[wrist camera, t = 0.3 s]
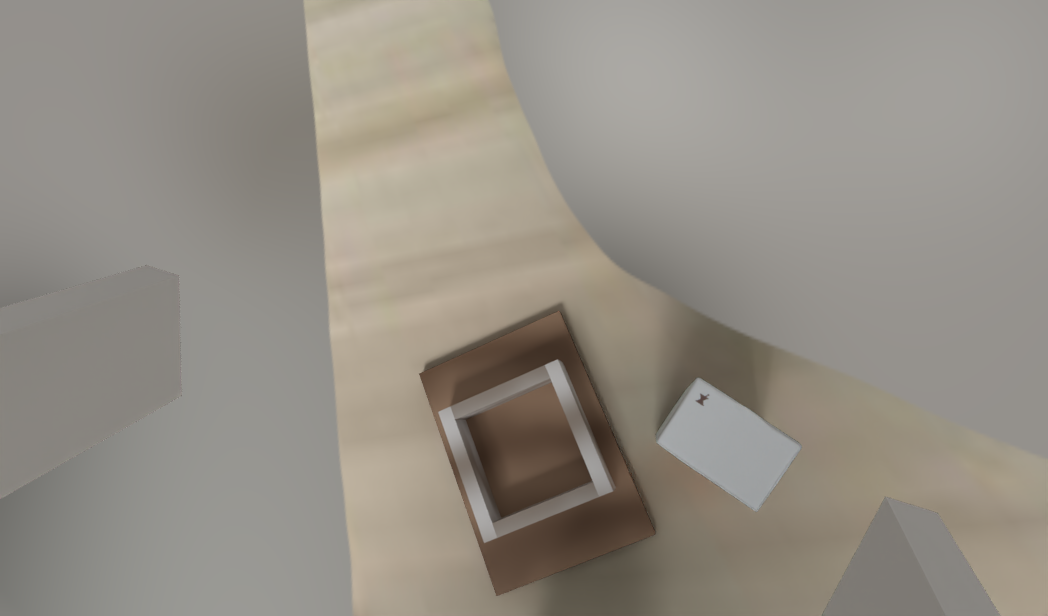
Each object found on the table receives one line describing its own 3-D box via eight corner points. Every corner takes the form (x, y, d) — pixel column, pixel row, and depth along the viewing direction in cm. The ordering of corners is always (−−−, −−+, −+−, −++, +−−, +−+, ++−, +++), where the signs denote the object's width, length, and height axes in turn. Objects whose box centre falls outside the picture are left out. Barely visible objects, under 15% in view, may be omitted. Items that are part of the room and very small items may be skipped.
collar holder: (655, 532, 40) (654, 541, 37) (499, 592, 42) (487, 606, 39) (560, 312, 45) (553, 304, 42) (423, 374, 46) (406, 370, 43)
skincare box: (653, 436, 42) (651, 440, 30) (686, 386, 42) (697, 372, 30) (729, 489, 40) (758, 515, 28) (764, 438, 40) (806, 443, 29)
